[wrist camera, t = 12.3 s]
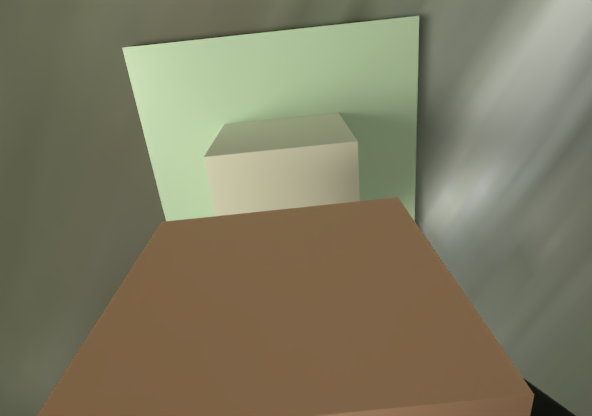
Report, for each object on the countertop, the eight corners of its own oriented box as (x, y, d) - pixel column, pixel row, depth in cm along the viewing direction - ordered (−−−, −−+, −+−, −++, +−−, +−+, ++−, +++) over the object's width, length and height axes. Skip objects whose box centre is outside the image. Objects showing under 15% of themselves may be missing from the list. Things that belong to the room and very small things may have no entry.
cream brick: (338, 112, 18) (357, 141, 13) (344, 216, 20) (362, 272, 15) (224, 124, 18) (203, 156, 13) (241, 226, 20) (228, 285, 15)
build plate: (409, 262, 22) (413, 270, 21) (187, 284, 22) (184, 293, 21) (413, 16, 17) (419, 15, 16) (129, 47, 17) (122, 47, 16)
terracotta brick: (397, 197, 8) (534, 394, 4) (397, 375, 10) (487, 643, 6) (161, 222, 8) (18, 445, 4) (206, 394, 10) (146, 674, 6)
